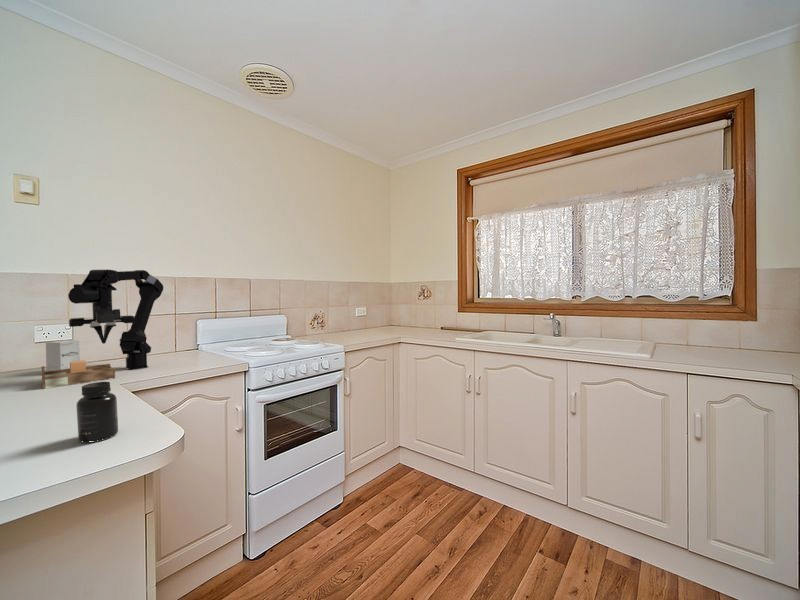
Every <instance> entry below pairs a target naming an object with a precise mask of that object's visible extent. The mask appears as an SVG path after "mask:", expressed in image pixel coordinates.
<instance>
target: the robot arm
mask: <svg viewBox="0 0 800 600" xmlns="http://www.w3.org/2000/svg"><path fill="white" fill-rule="evenodd" d="M133 280H134V282H135V286H136V287H137V288H138V294H139V296H140V300H139V303H138V306H137V308H136V312H135V315H134V316H133V315H131V314H129V315H121V309H120V308H114V309H113V292H112V291H117V290H118V289H117V287H115V286H114V285H112V284H116V283H119V282H121V281H133ZM143 280H144V281H143ZM163 291H164V285H163V283H162V282H161V281H160V280H159V279H158V278H156V277H155V276H153V275H152V274H150V273H149V272H148V271H147V270H144V269H137V270H126V271H125V270H124V271H123V270H121V271H119V270H118V271H117V270H114V269H91V270H89V272H88V273H87V275H86V277H85V278H84V280H83V281H82V283H80V284H79V283H78V284H77V283H75V284H73V288H71V289H70V290H69V292H68V295H67V296H68V297H67V298H68V300H69V301H70V302H71V303H73V304H92V318H86V319H85V317H73V318H72V317H71V318H69V319H68V327H70V328H72V327H76V328H77V327H83V326H84V325H89V327H90V328H92V329H94V330H95V332H96V333H97V335H98V338H99V339H100V342H101V343H102V344H103V345H104V344H106V342H107V340H108V338H109V335H110V332H111V331H112V329H113V327H117V323H124V324H131V326H130V328H129V329H128V331H122V332H121V337H120V339H119V347H120V349H121V353H122V354H123V355H126V356H127V357H125V368H127V369H128V370H131V371H132V370H138V369H146V368H149V365H148V359H147V357H148V356H147V354H150V353H151V352H152V347H151V346H150V345H149V343H147V334H146V333H145V331H146V328H147V326H148V325H147V324H148V321H149V318H150V315H151V312H152V309H153V307H154V303H155V301H157V300H158V299H159V298H160V297H161V295H162V294H163ZM101 324H104V328H103V325H101Z"/></svg>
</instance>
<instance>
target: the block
mask: <svg viewBox="0 0 800 600" xmlns="http://www.w3.org/2000/svg"><path fill="white" fill-rule="evenodd" d="M86 367H87V363H86V360H80V361H74V362H70V373H76V372H84V371H86Z"/></svg>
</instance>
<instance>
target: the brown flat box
mask: <svg viewBox="0 0 800 600" xmlns="http://www.w3.org/2000/svg"><path fill="white" fill-rule="evenodd" d="M109 378H113V379H116V369H115V366H114V367H112V366H111V363H104V364H97V365H96V364H95V365H88V366H87V365H86V371H84V372H76V373H70V369H63V370H55V371H47V370H46V371H45V366H41V384H42V389H43V390H44V389H45V388H46V389H51V388H52V387H53V388H59V386H60V387H63V386H65V385H66V386H72V384H73V385H78V383H80V384H85V382H86V383H92V382H91V381H93V382H98V381H97V380H100V381H105V380H104V379H106V380H110V379H109ZM66 386H65V387H66Z"/></svg>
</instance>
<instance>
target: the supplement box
mask: <svg viewBox="0 0 800 600" xmlns="http://www.w3.org/2000/svg"><path fill="white" fill-rule="evenodd" d="M80 357H81V356H80V340H76V339H72V340H69V339H67V340H59V341H58V340H56V341H47V342H45V358H46V359H45V362H46V366H45V367H46V372H47V371H55V370H63V369H70V362H74V361H81V359H80Z"/></svg>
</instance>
